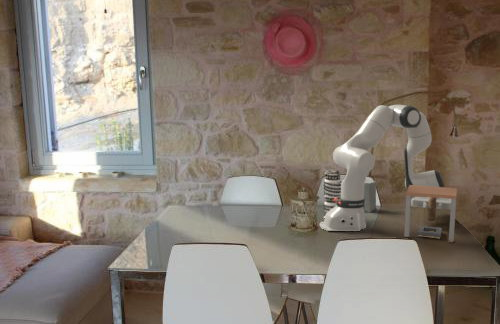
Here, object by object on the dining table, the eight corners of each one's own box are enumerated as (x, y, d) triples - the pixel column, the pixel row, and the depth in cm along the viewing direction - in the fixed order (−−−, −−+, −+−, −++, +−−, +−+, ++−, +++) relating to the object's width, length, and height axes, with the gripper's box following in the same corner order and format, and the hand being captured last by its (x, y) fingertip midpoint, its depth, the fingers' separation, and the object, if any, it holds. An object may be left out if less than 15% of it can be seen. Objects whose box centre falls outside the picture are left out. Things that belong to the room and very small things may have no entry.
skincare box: (370, 212, 285) (370, 183, 282) (357, 210, 289) (358, 182, 286) (376, 209, 291) (377, 180, 288) (364, 207, 295) (365, 179, 293)
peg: (429, 221, 255) (430, 196, 253) (426, 219, 259) (427, 195, 256) (436, 220, 256) (437, 196, 253) (433, 218, 259) (434, 194, 257)
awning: (407, 228, 257) (409, 184, 253) (454, 233, 249) (457, 188, 245) (404, 238, 243) (406, 192, 239) (453, 243, 235) (456, 195, 231)
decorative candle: (342, 220, 272) (343, 172, 267) (324, 220, 272) (324, 172, 267) (339, 215, 280) (340, 168, 276) (322, 215, 281) (322, 168, 276)
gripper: (412, 192, 271) (409, 199, 258) (455, 196, 263) (454, 202, 251) (411, 204, 272) (409, 211, 259) (454, 208, 265) (454, 215, 252)
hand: (431, 207), depth 255 cm, fingers closed on peg, 3 cm apart
